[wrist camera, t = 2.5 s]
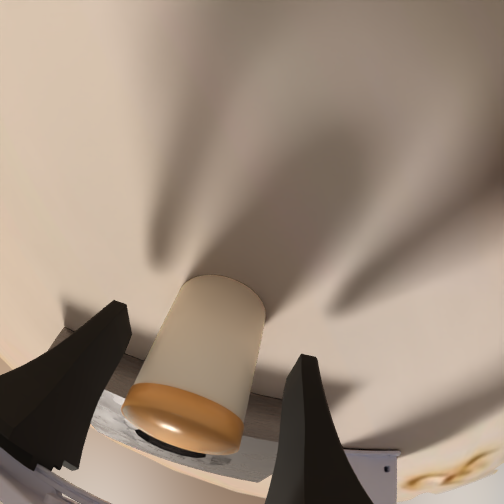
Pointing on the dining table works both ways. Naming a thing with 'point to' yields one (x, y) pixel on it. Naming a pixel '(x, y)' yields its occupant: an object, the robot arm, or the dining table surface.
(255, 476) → the dark grey slab
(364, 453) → the robot arm
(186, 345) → the plug
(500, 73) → the dining table surface
